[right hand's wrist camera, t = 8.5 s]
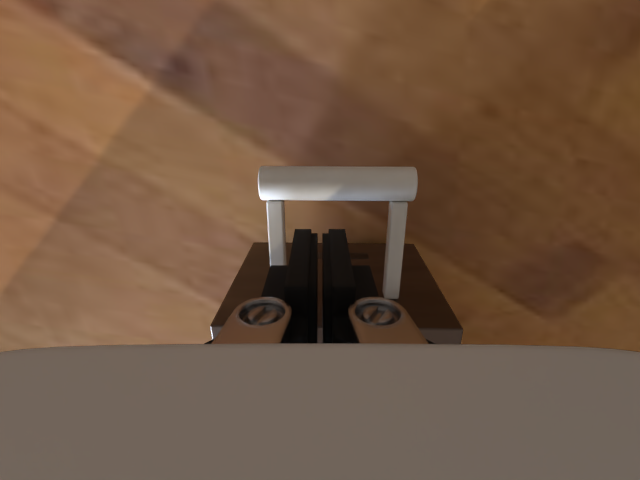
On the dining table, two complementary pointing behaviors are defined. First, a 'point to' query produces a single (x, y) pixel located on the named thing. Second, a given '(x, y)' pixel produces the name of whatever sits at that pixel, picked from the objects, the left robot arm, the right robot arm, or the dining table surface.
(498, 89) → the dining table surface
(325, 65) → the dining table surface
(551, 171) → the dining table surface
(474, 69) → the dining table surface
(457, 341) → the drawer
